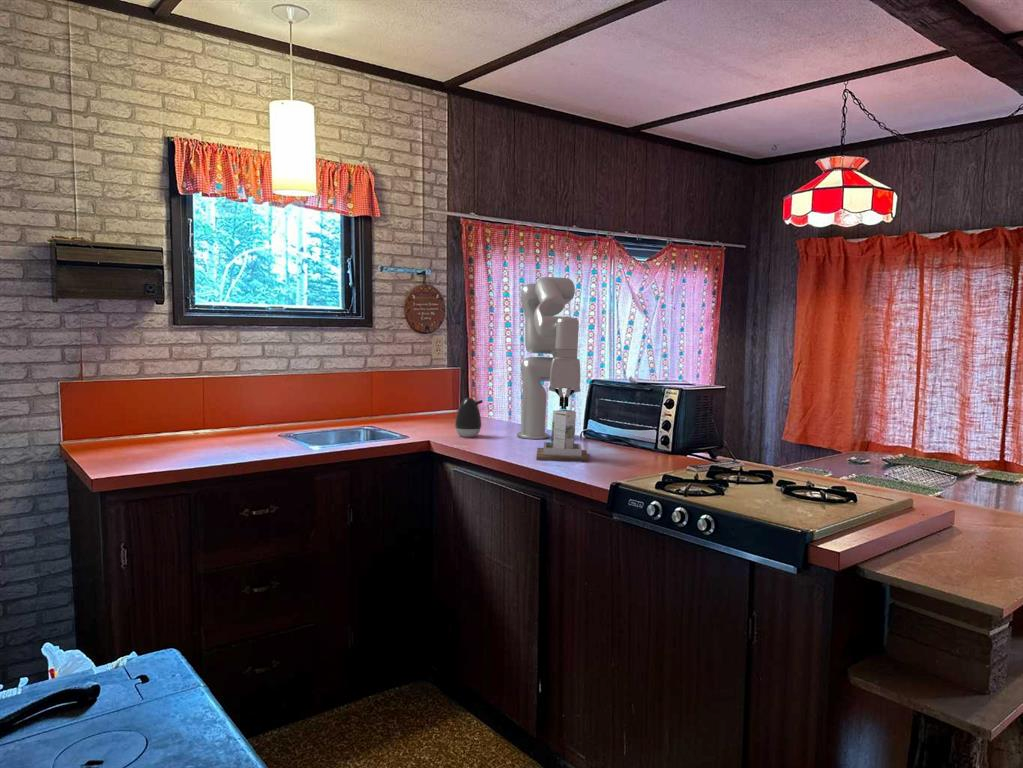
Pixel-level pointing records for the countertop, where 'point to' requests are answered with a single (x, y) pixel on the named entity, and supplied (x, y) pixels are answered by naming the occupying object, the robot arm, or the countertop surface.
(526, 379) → the robot arm
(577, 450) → the tray
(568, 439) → the syrup box
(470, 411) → the pump dispenser
